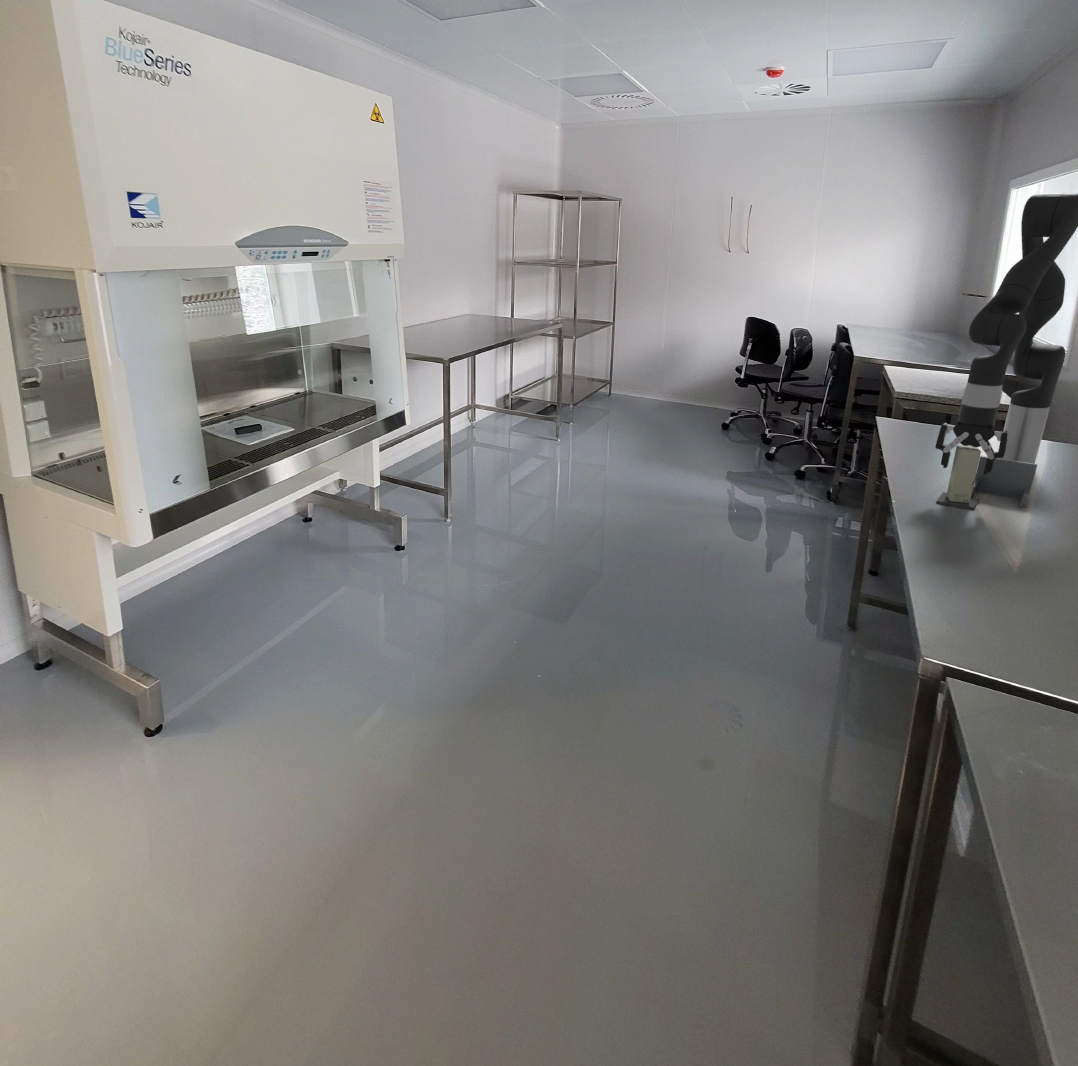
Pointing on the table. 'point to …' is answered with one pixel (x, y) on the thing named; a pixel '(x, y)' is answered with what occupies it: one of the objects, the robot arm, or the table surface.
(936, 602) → the table surface
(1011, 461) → the rack bay
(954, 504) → the mat
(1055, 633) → the table surface
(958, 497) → the box
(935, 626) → the table surface
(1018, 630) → the table surface
